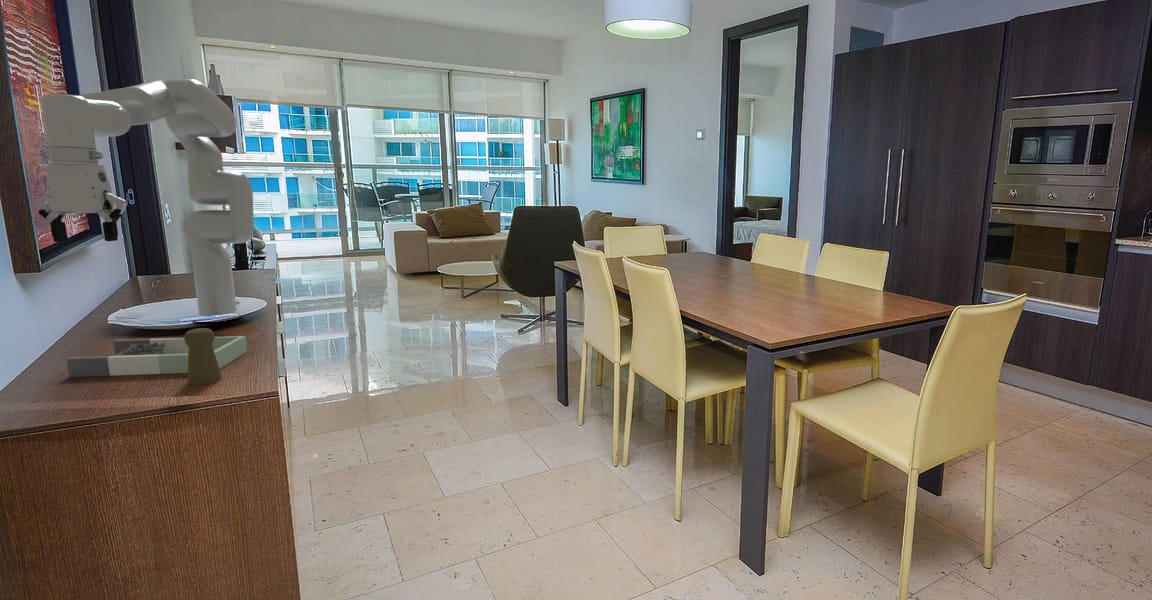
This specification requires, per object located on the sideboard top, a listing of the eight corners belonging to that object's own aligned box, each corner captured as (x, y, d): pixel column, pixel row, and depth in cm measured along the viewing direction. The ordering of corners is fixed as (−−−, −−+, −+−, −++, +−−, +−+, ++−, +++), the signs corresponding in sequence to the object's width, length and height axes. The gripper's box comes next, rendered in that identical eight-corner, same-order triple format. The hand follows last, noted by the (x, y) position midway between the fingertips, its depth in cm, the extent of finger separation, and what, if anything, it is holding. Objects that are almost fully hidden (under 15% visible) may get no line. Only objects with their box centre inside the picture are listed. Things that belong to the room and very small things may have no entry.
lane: (118, 355, 139) (116, 339, 138) (247, 351, 142) (245, 335, 142) (69, 377, 124) (66, 358, 123) (215, 371, 127) (213, 354, 126)
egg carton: (150, 367, 127) (145, 350, 126) (111, 373, 125) (106, 355, 125) (171, 353, 137) (167, 336, 136) (135, 357, 136) (131, 341, 135)
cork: (221, 382, 120) (215, 330, 118) (186, 387, 117) (179, 334, 115) (222, 374, 125) (216, 324, 123) (188, 379, 122) (181, 327, 120)
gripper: (131, 159, 125) (141, 239, 128) (41, 159, 122) (54, 240, 125) (108, 156, 117) (119, 241, 120) (12, 156, 115) (26, 243, 118)
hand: (86, 241), depth 123 cm, fingers open, 9 cm apart
